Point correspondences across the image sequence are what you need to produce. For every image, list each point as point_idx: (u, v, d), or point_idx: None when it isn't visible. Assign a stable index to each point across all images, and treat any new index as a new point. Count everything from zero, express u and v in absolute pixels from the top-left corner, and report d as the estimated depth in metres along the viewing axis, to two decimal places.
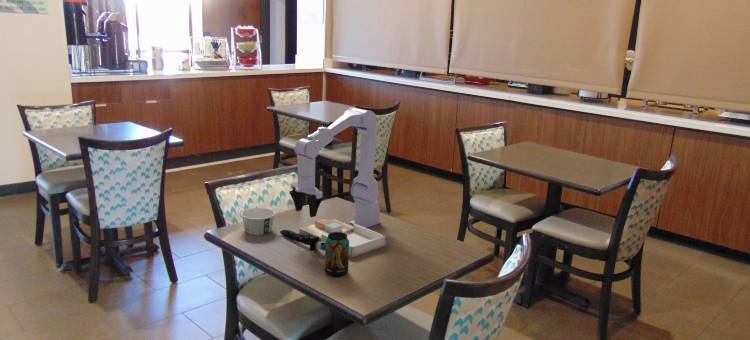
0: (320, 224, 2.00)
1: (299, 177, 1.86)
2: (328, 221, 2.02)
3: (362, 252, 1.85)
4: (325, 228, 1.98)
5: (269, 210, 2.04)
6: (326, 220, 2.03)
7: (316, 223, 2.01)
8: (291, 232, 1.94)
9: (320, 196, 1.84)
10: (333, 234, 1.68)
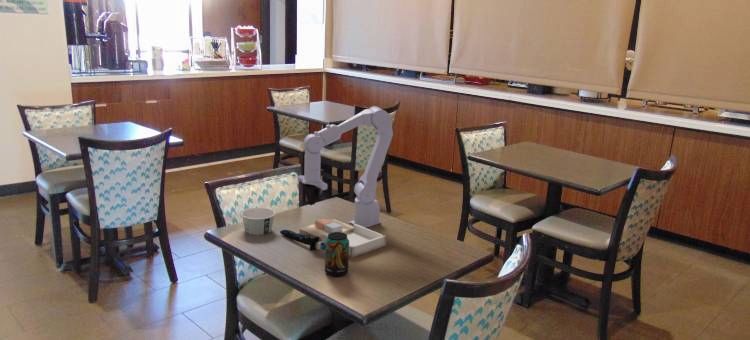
0: (320, 224, 2.00)
1: (306, 170, 2.00)
2: (328, 221, 2.02)
3: (362, 252, 1.85)
4: (325, 228, 1.98)
5: (269, 210, 2.04)
6: (326, 220, 2.03)
7: (316, 223, 2.01)
8: (291, 232, 1.94)
9: (325, 188, 1.98)
10: (333, 234, 1.68)
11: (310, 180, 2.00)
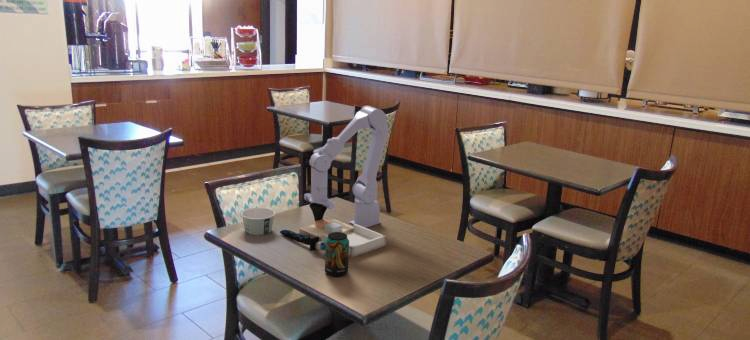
0: (320, 224, 2.00)
1: (312, 189, 1.99)
2: (328, 221, 2.02)
3: (362, 252, 1.85)
4: (325, 228, 1.98)
5: (269, 210, 2.04)
6: (326, 220, 2.02)
7: (316, 223, 2.01)
8: (291, 232, 1.94)
9: (332, 207, 1.97)
10: (333, 234, 1.68)
11: (317, 199, 1.99)
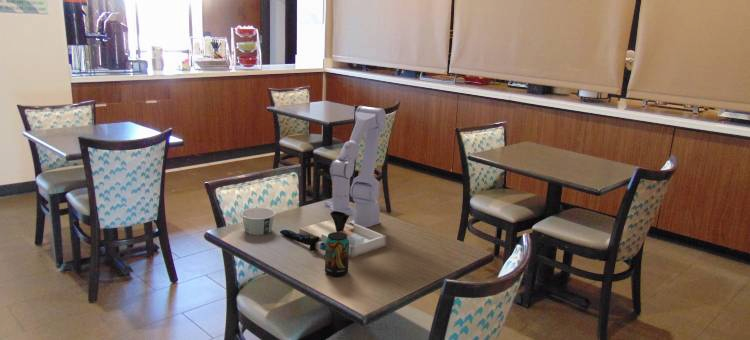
0: None
1: (334, 197, 1.91)
2: (350, 233, 1.94)
3: (362, 252, 1.85)
4: None
5: (269, 210, 2.04)
6: (348, 232, 1.95)
7: None
8: (291, 232, 1.94)
9: (355, 215, 1.90)
10: (333, 234, 1.68)
11: (339, 207, 1.91)
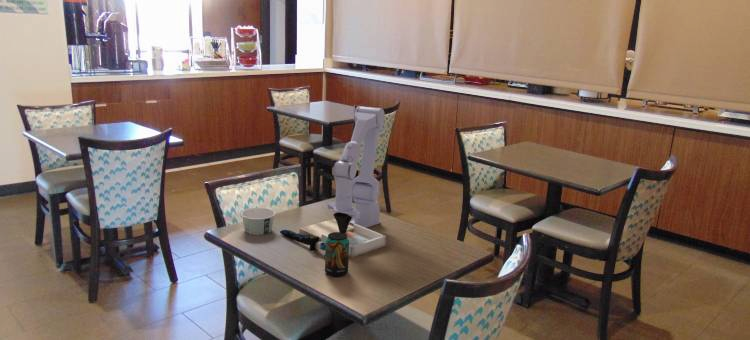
0: None
1: (337, 198, 1.90)
2: (353, 234, 1.93)
3: (362, 252, 1.85)
4: (349, 242, 1.90)
5: (269, 210, 2.04)
6: (351, 233, 1.94)
7: None
8: (291, 232, 1.94)
9: (358, 217, 1.89)
10: (333, 234, 1.68)
11: (342, 208, 1.90)
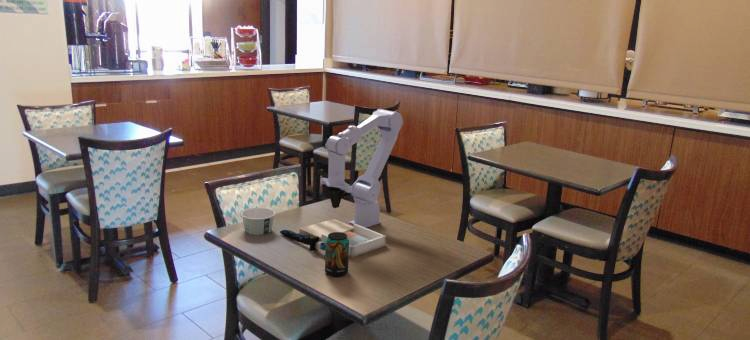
0: None
1: (330, 172, 1.95)
2: (353, 234, 1.93)
3: (362, 252, 1.85)
4: (349, 242, 1.90)
5: (269, 210, 2.04)
6: (351, 233, 1.94)
7: None
8: (291, 232, 1.94)
9: (350, 190, 1.94)
10: (333, 234, 1.68)
11: (335, 183, 1.95)
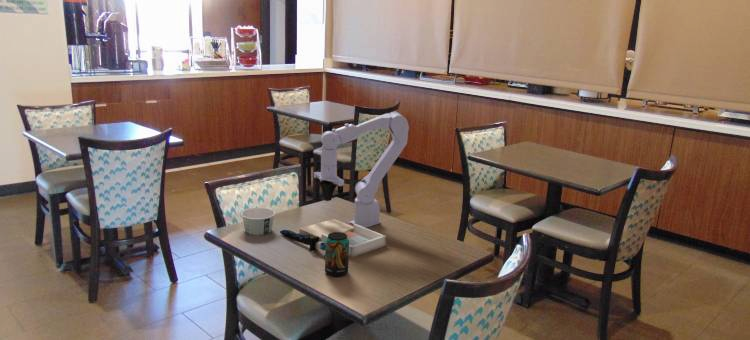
0: None
1: (322, 166, 2.02)
2: (353, 234, 1.93)
3: (362, 252, 1.85)
4: (349, 242, 1.90)
5: (269, 210, 2.04)
6: (351, 233, 1.94)
7: None
8: (291, 232, 1.94)
9: (342, 184, 2.01)
10: (333, 234, 1.68)
11: (327, 176, 2.03)
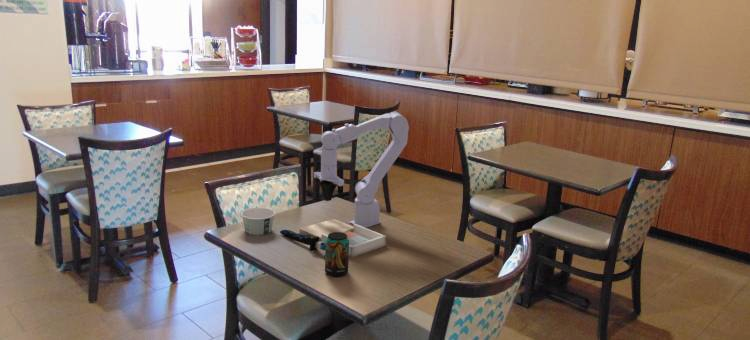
0: None
1: (322, 166, 2.02)
2: (353, 234, 1.93)
3: (362, 252, 1.85)
4: (349, 242, 1.90)
5: (269, 210, 2.04)
6: (351, 233, 1.94)
7: None
8: (291, 232, 1.94)
9: (342, 184, 2.01)
10: (333, 234, 1.68)
11: (327, 176, 2.03)
